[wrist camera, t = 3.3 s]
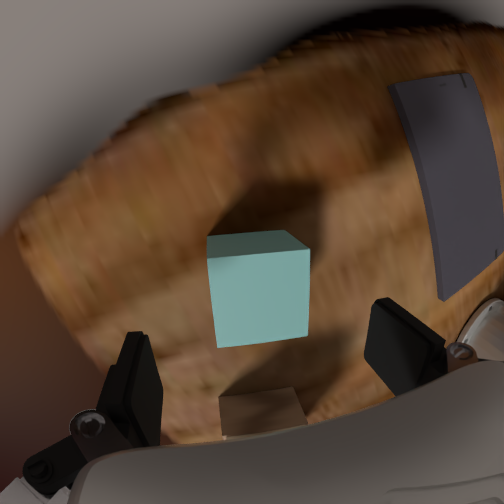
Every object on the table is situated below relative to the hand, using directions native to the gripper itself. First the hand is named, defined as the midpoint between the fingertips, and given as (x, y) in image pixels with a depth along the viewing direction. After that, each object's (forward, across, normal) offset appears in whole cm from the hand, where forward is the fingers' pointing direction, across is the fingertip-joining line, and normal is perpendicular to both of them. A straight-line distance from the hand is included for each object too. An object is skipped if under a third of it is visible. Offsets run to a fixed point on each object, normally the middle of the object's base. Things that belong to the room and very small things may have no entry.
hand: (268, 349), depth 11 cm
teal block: (+10, -1, 0) cm, 11 cm away
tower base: (+10, -1, +16) cm, 19 cm away
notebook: (+11, -23, -6) cm, 26 cm away
